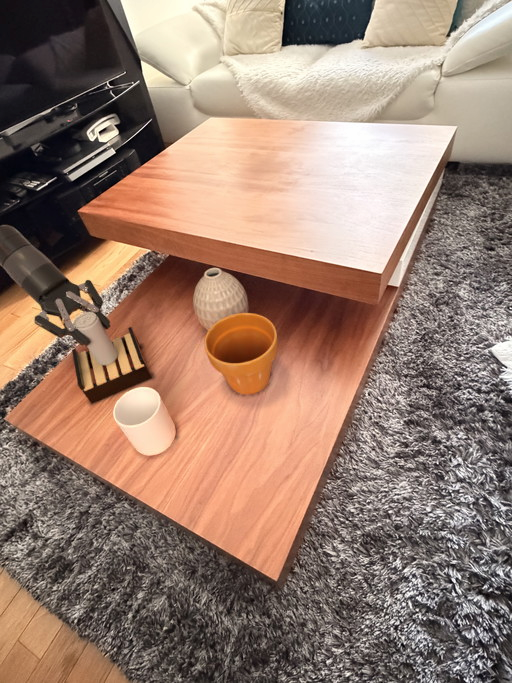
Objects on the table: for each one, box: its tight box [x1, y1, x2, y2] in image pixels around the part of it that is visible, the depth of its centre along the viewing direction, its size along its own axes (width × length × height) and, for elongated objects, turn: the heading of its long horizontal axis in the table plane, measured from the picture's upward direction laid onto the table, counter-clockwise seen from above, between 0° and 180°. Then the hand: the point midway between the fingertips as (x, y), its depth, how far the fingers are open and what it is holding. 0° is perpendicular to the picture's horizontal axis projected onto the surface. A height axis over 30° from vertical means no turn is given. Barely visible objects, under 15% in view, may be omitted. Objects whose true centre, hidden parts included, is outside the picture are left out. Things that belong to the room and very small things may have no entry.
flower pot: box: [203, 312, 279, 396], centre depth 79 cm, size 14×14×13 cm
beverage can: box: [73, 312, 118, 366], centre depth 83 cm, size 5×5×12 cm
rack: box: [71, 326, 153, 405], centre depth 88 cm, size 14×12×7 cm
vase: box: [192, 267, 249, 332], centre depth 91 cm, size 13×13×17 cm
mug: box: [112, 386, 177, 456], centre depth 74 cm, size 9×12×11 cm
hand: (98, 335), depth 80 cm, fingers closed on beverage can, 4 cm apart
